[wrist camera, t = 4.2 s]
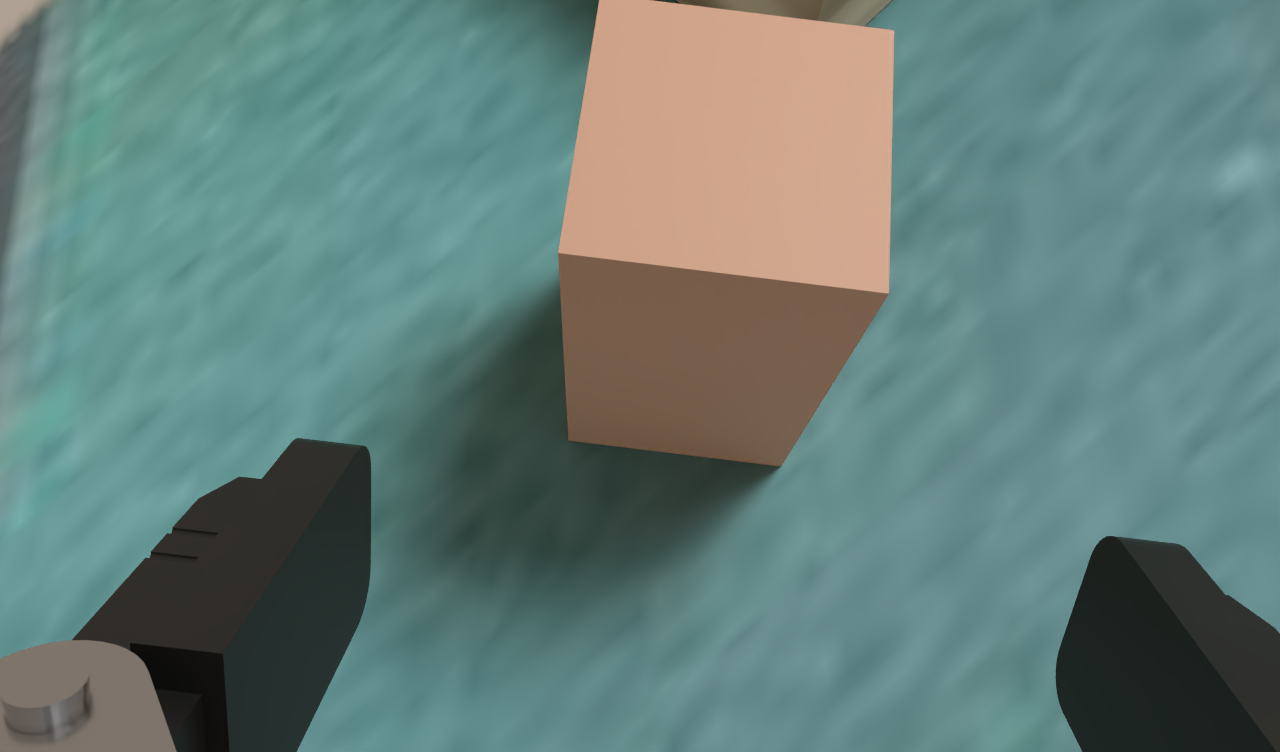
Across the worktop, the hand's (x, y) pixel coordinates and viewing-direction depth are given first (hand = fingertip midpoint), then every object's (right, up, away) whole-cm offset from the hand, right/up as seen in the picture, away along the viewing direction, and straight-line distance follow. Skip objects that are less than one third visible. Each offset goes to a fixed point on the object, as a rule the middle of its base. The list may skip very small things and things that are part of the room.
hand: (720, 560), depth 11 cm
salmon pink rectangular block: (0, +3, +13) cm, 13 cm away
